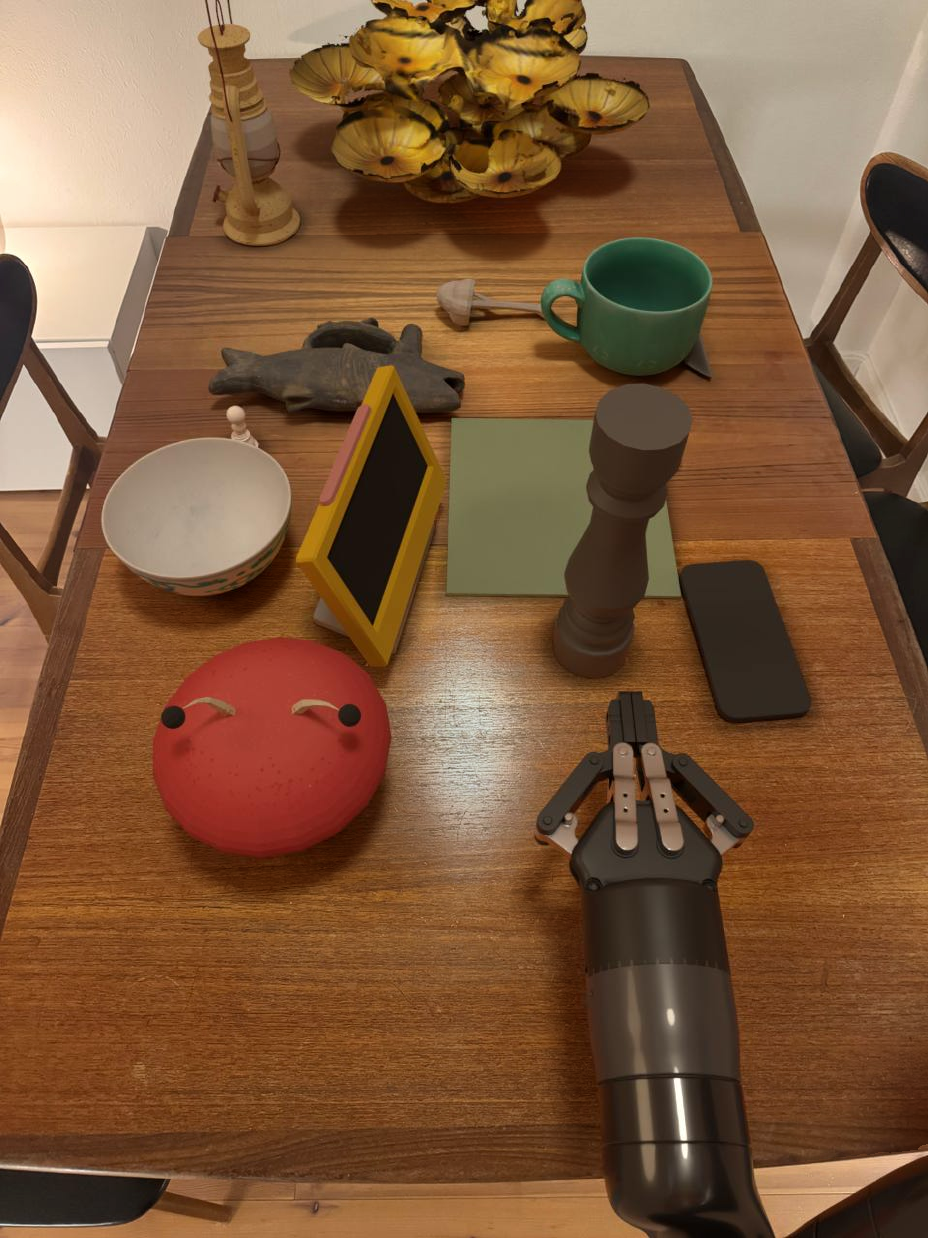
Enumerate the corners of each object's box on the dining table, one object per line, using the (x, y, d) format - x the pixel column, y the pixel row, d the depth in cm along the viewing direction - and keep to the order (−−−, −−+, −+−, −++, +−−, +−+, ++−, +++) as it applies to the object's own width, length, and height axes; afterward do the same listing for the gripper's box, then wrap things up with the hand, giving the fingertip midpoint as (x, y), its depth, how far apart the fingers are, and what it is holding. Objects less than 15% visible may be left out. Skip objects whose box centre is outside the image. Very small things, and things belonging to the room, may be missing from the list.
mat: (652, 423, 87) (653, 420, 86) (680, 598, 74) (681, 596, 74) (451, 420, 87) (451, 417, 86) (446, 595, 75) (446, 593, 74)
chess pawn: (223, 448, 84) (210, 409, 80) (246, 433, 86) (235, 394, 81) (241, 463, 83) (230, 424, 79) (264, 447, 84) (254, 408, 80)
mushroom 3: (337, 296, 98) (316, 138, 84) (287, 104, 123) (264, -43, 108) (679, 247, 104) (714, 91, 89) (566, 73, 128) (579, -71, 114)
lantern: (225, 197, 109) (156, -102, 84) (303, 196, 109) (258, -102, 85) (212, 254, 102) (133, -53, 78) (296, 252, 103) (244, -54, 78)
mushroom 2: (167, 898, 60) (91, 815, 48) (198, 697, 69) (141, 583, 56) (397, 890, 60) (381, 806, 48) (398, 691, 69) (385, 577, 57)
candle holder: (609, 691, 69) (674, 468, 49) (539, 658, 71) (573, 429, 50) (639, 634, 72) (712, 402, 52) (572, 604, 74) (616, 367, 53)
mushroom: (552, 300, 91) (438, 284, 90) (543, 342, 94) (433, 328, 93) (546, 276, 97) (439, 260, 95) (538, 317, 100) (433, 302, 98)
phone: (722, 719, 67) (677, 564, 75) (720, 724, 68) (675, 570, 76) (816, 711, 67) (761, 558, 76) (813, 716, 68) (758, 564, 76)
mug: (684, 316, 96) (704, 236, 88) (699, 393, 89) (722, 314, 81) (534, 313, 96) (540, 234, 89) (537, 390, 89) (544, 311, 81)
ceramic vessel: (459, 396, 81) (474, 312, 91) (195, 371, 82) (238, 291, 92) (457, 440, 85) (472, 355, 95) (205, 416, 86) (246, 335, 96)
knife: (665, 297, 98) (666, 291, 97) (700, 296, 98) (702, 291, 97) (684, 380, 90) (686, 375, 89) (723, 380, 90) (725, 374, 90)
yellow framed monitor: (390, 690, 69) (373, 568, 56) (295, 671, 70) (258, 547, 57) (448, 505, 80) (445, 368, 67) (365, 491, 81) (347, 353, 68)
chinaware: (295, 487, 82) (281, 425, 75) (314, 616, 73) (300, 559, 67) (131, 512, 80) (102, 451, 73) (131, 648, 71) (99, 592, 65)
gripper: (808, 972, 43) (747, 667, 52) (537, 968, 43) (527, 664, 52) (764, 1003, 49) (717, 725, 59) (527, 1000, 49) (520, 723, 59)
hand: (627, 697), depth 55 cm, fingers closed
